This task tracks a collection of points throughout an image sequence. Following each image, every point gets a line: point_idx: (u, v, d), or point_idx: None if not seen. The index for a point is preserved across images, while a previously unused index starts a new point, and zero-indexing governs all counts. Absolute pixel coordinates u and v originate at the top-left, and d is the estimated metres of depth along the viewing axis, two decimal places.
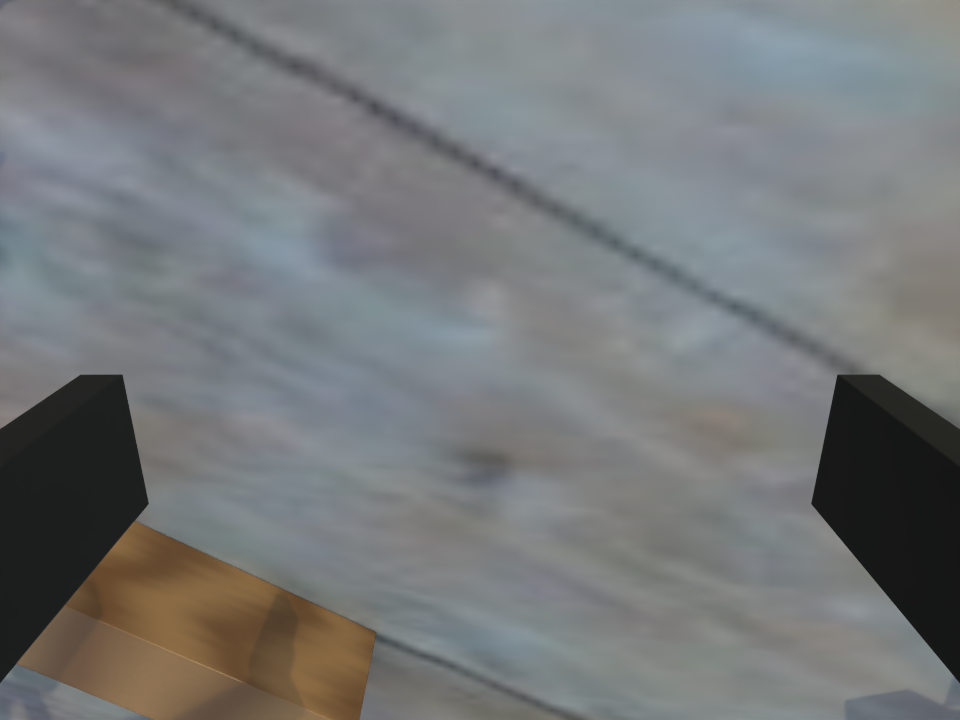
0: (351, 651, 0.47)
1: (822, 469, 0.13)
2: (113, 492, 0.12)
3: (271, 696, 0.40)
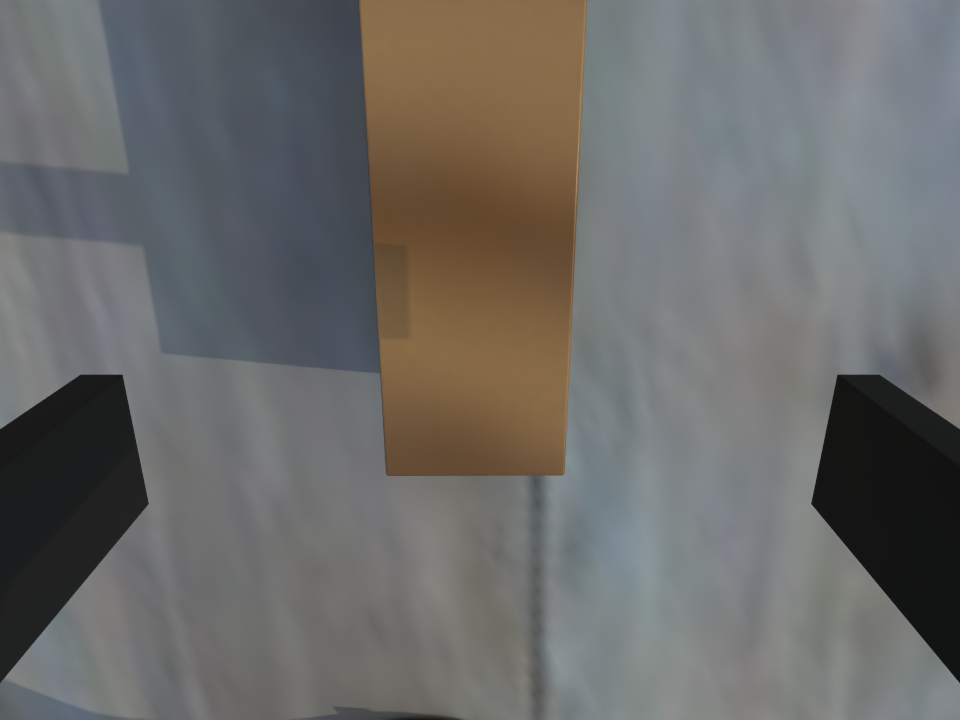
0: None
1: (823, 469, 0.13)
2: (113, 492, 0.12)
3: (568, 299, 0.19)
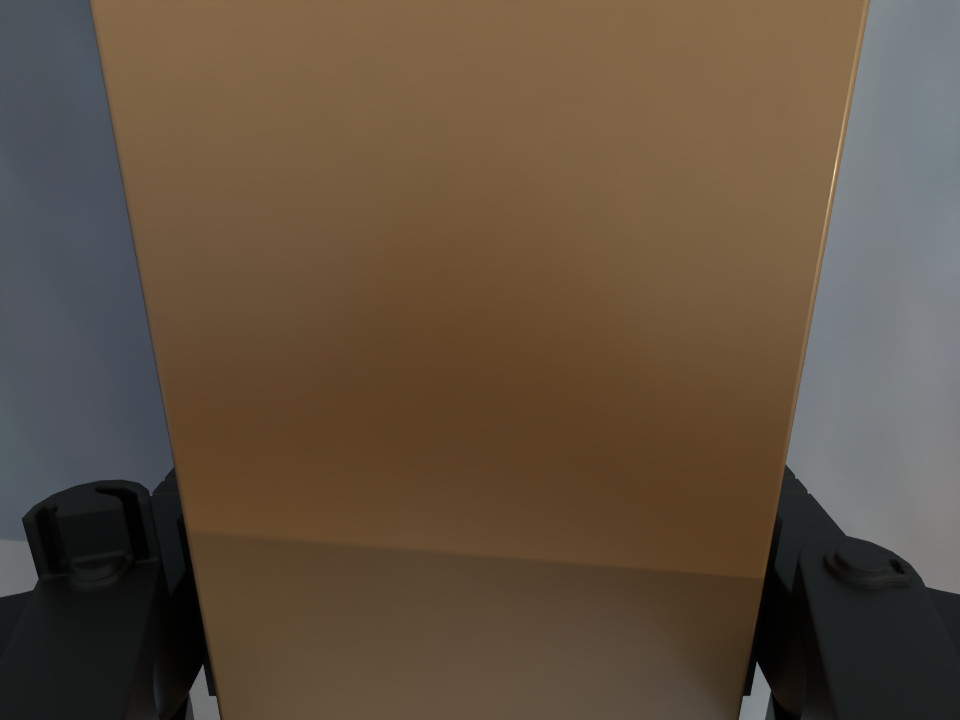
0: None
1: None
2: None
3: (743, 638, 0.07)
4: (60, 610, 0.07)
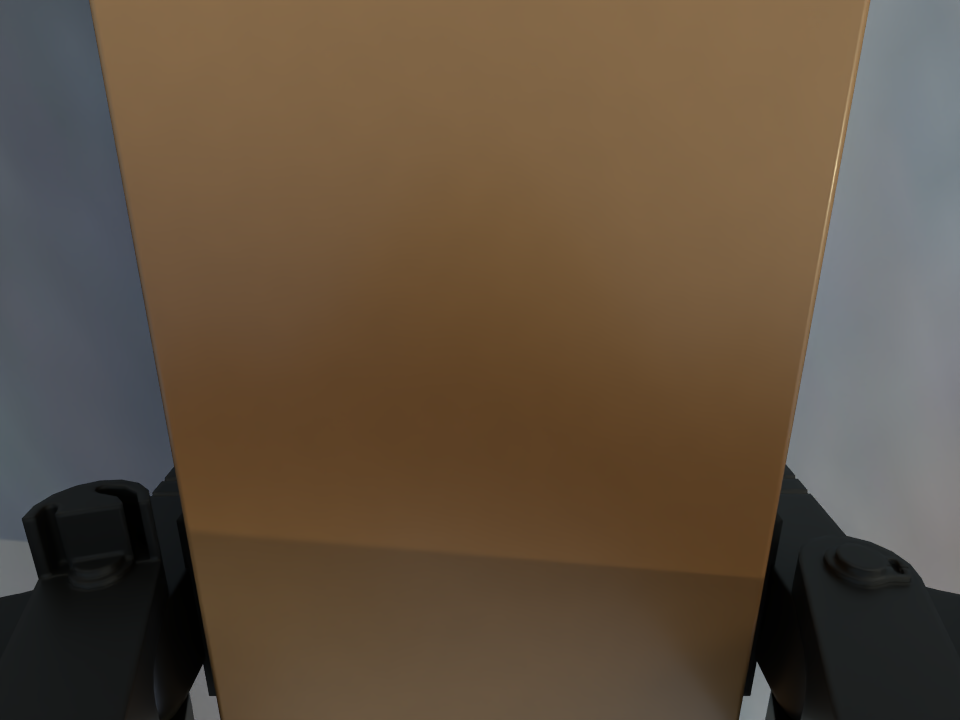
0: None
1: None
2: None
3: (744, 640, 0.07)
4: (60, 610, 0.07)
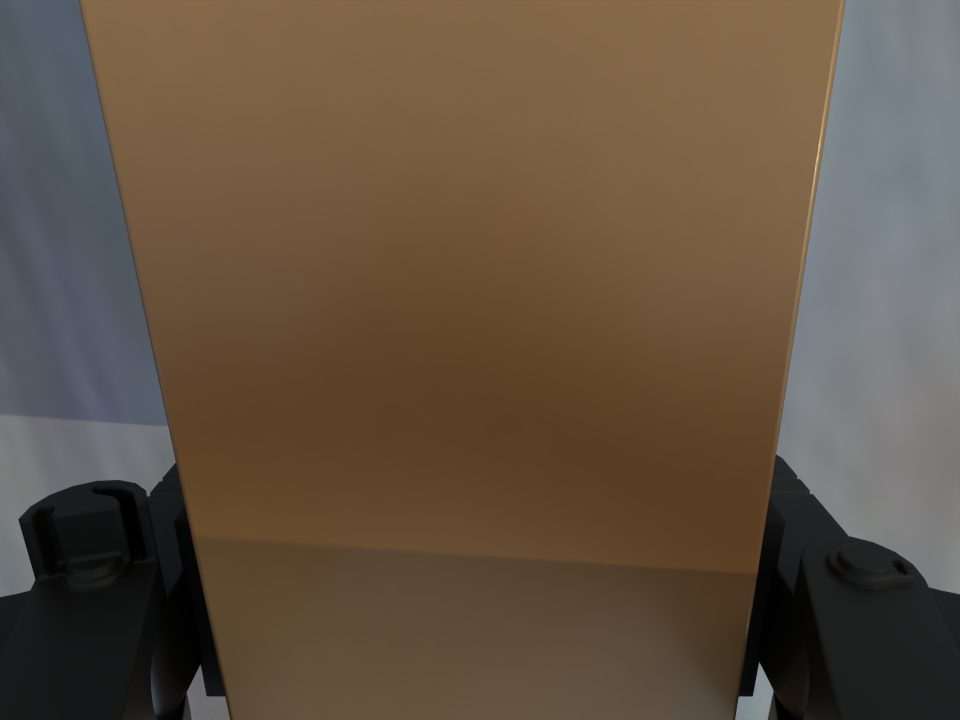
0: None
1: None
2: None
3: (740, 622, 0.07)
4: (57, 610, 0.07)
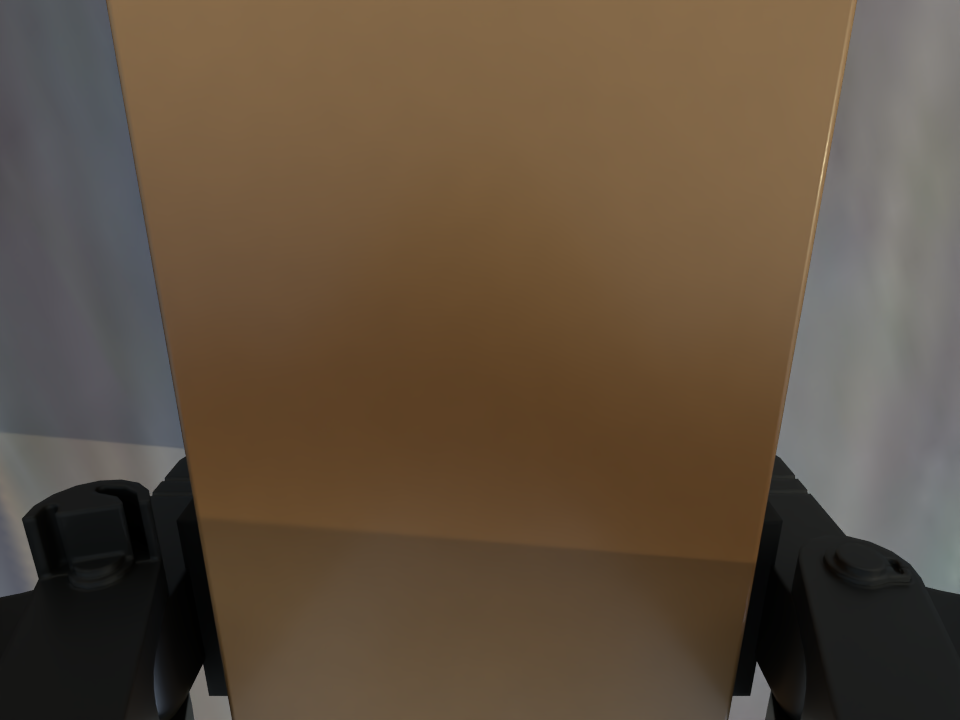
0: None
1: None
2: None
3: (736, 621, 0.07)
4: (60, 610, 0.07)
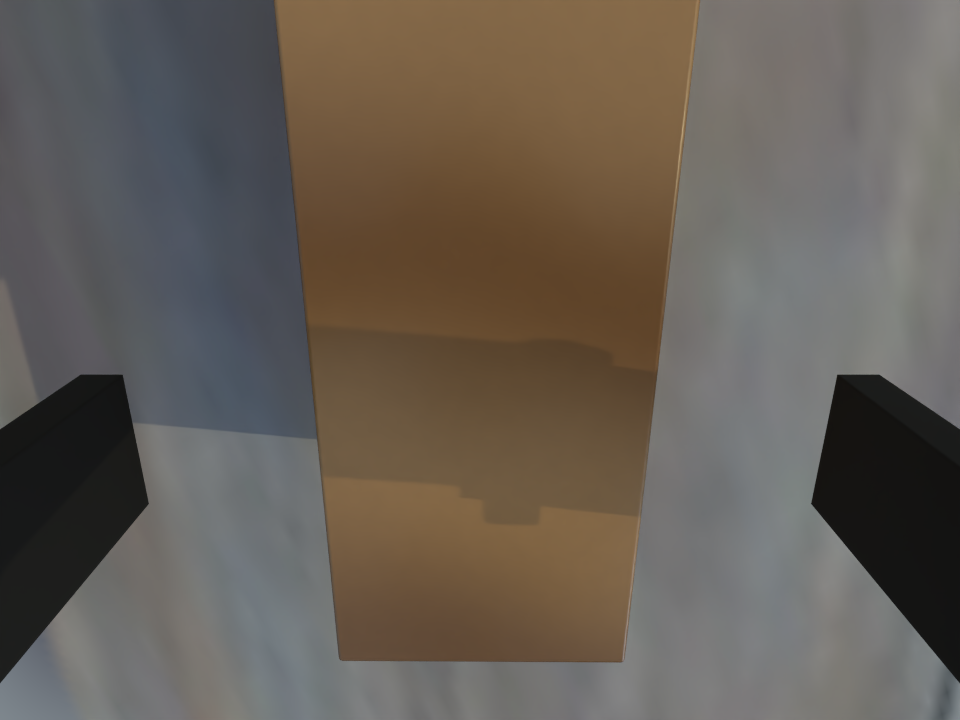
0: None
1: (823, 469, 0.13)
2: (113, 492, 0.12)
3: (647, 399, 0.11)
4: None
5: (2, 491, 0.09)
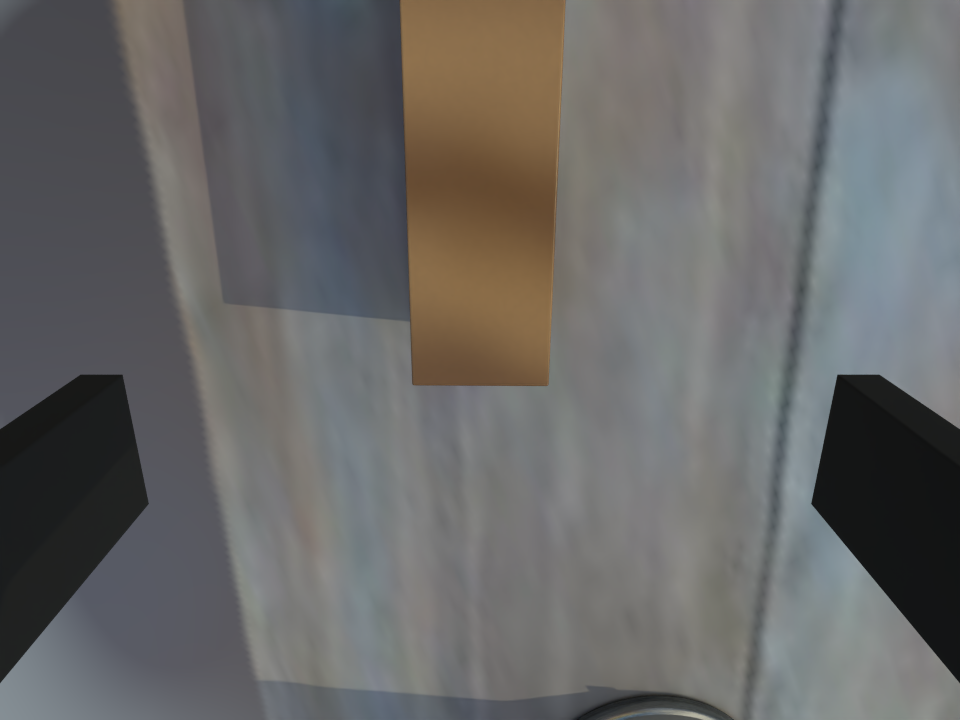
0: None
1: (823, 469, 0.13)
2: (113, 492, 0.12)
3: (551, 248, 0.26)
4: None
5: (2, 491, 0.09)
